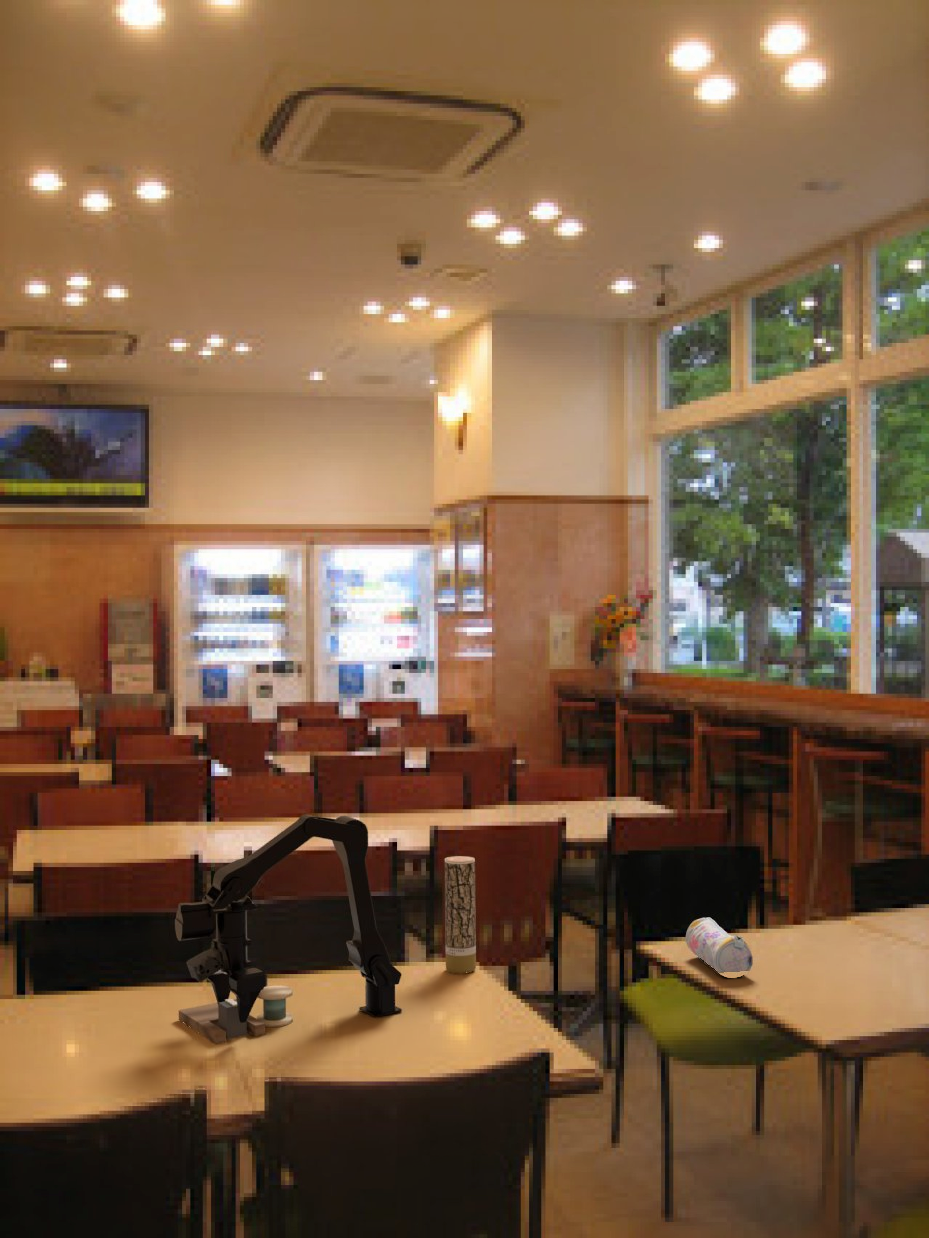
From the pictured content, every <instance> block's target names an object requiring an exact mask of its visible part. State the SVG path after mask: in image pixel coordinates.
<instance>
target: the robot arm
mask: <svg viewBox="0 0 929 1238" xmlns="http://www.w3.org/2000/svg"><path fill="white" fill-rule="evenodd" d="M313 838H320V839H323V840H329V841H331V842H332V844H333V847H334V850H335V851H336V853H337V855H338V858H340V861H341V863H342V867H343V872H344V878H345V884H346V890H347V891H346V892H347V895H348V902H349V907H350V912H351V919H352V924H353V936H352V940H347V941H346V946H347V950H348V954H349V955H348V961H349V962H351V963H352V965H353V967H354V968H355V969H357V970H359V973H360V975H361V977H363V978H364V979H365V987H364V990H365V995H364V996H365V1005H364V1006H359V1007H358V1008H359V1011H361V1012H363V1013H365V1014H367V1015H368V1016H371V1017H374V1018H378V1017H383V1016H384V1017H385V1016H388V1015H393V1014H397V1013H401V1012H403V1009H402V1008H400V1007H399V1006H396V985H399V984H400V982H401V978H402V972H401V971H399V970H398V968H396V967H395V966H394V965H392V963H391V958H390V955H389V952H388V949H387V946H386V945H385V942H384V940H383V938H382V937H381V934H380V933H379V931H378V929H377V927H378V926H377V922H376V916H375V911H374V906H373V900H372V899H373V898H372V894H371V887H370V882H369V875H368V870H367V865H366V859H367V854H368V850H369V830H368V826H367V824H365V823H364V822H363V821H361V820H359V819H356V818H354V817H351V816H348V815H340V816H338V817H336V818H330V817H323V816H314V815H312V814H307V813H306V814H302V815H301V816H300V817H299V818H298V819H297V820H296V821H295V822H293V823H292V824H291V825H289V826H287V827H286V828H284V830H281V832H279V833H278V834H277V835H276V836H274V837H273V838H272V839H269V841H268V842H266V843H264V845H262V846H261V847H259V848H258V849H257V850H255V851H254V852H253V853H251V854H249V855H247V856H246V857H242V858H239V859H237V860H234V861H232V862H230V863H227V864H225V865H223V866H222V867H220V868H219V869H218V870H217V871H216V872H215V873H214V875H213V880H212V884H211V886H210V887H209V889H208V890H207V892H206V894H205V895H204V896H203V898H201V899H202V900H201V901H199V902H197V901H196V902H179V903H178V906H177V907H178V908H177V911H176V913H175V914H176V915H175V919H174V931H175V934H176V938H177V941H179V942H181V941H190V940H197V939H207V938H210V937H211V935H212V934H214V932H215V931H216V938H213V939H212V941H211V943H210V944H211V945H210V948H209V949H207V950H204V951H203V952H200V953H198V954H196V955H195V956H194V957H192V958H190V959H188V960H186V965H187V969H188V971H189V973H190V976H191V978H192V979H195V980H196V981H197V982H203V981H205V980H208V981H209V983H211V986H212V988H213V992H214V996H215V1000H216V1003H219V1002H224V1001H225V1000H226V999H230V995H231V993H232V994H233V995H234V996H235V999H237V1007H238V1014H239V1020H240V1022H241V1023H244V1022H246V1021H247V1018H248V1016H249V1015H251V1012H252V1009H253V1007H254V1005H255V1003H256V1001H257V999H258V995H259V993H260V992H261V990H263V989H264V987H268V975H267V974H266V973H265V972H264V971H263V970H260V969H259V968H256V967H252V960H250V959H248V946H251V945H252V940H251V939H250V938H248V920H247V919H248V917H247V916H248V915H247V914H248V913H247V912H248V911H252V910H254V911H255V910H257V909H258V905H257V904H255V903H254V902H253V900H252V899H251V898H250V897H249V896H248V894H250V892H252V891H253V889H254V888H255V887H256V886H257V884H259V882H260V880H261V879H262V877H263V876H264V875H265V874H266V873H267V872H269V870H271V869H272V868H274V867H275V866H277V864H279V863H280V862H281V861H283V860H284V859H285V858H287V857H288V856H290V855H291V854H292V853H294V852H295V851H296V850H298V849H300V848H301V846H303V845H305V843H307V842H308V841H310V840H311V839H313ZM250 967H251V968H250Z"/></svg>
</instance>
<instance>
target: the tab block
mask: <svg viewBox="0 0 929 1238" xmlns="http://www.w3.org/2000/svg"><path fill="white" fill-rule="evenodd" d="M218 1024H219V1028H221V1029H223V1030H224V1031H226V1040H232V1039H237V1038H241V1037H247V1035H248V1034H247V1033H248V1031H247V1022H244V1023H241V1022H240V1020H239V1014H238V1007H237V999H236V998H235V999H233V998H229V999H226V1000H225V1001H224V1002H219V1003H218Z"/></svg>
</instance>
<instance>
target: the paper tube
mask: <svg viewBox="0 0 929 1238" xmlns="http://www.w3.org/2000/svg"><path fill="white" fill-rule="evenodd" d="M444 915H445V916H444V920H445V921H444V922H445V923H444V927H445V928H444V929H445V931H444V933H445V934H444V935H445V940H444V941H445V969H446V971H447V972H448V973H451V972H453V973H452V974H456V973H465V974H467V973H466V972H470V973H473V972H474V971H475V970H476V969H477V956H476V955H477V949H476V948H477V945H476V943H477V938H476V937H477V934H476V933H477V932H476V931H477V930H476V928H477V927H476V926H477V925H476V922H477V921H476V860H475V857H473V856H467V855H465V856H464V855H463V856H462V855H459V856H458V855H455V856H448V857H445V858H444ZM472 971H473V972H472Z"/></svg>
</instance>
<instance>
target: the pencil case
mask: <svg viewBox="0 0 929 1238" xmlns="http://www.w3.org/2000/svg"><path fill="white" fill-rule="evenodd" d="M685 943H686V946H687V948H688V949H689V950H690V951H691V952H692V954H694V955H695V956H696V955H697V956H698V957H699V958H698V957H697V956H696V957H697V958H698V959H700V958H701V959H702V960H704V961H705V962H707V963H708V964H709V965H710V966H712V967H713V968H714V969H716V970H717V972H719V973H724V972H740V971H749V972H750V971H751V970H752V967H753V961H754V960H753V957H754V956H753V954H752V951H751V948H750V946H749V945H748V943H747V941H746V940H745V939H744V938H743V937H741V936H739V935H738V934H737V933H734V935H731V934H730V933H728V932H727V931H725V930H724V928H722V927H721V926H719V924H718V923H717V922H716V921H715V920H714V919H712V918H711V917H701V918H698V919H695V920H693V921H692V922H691V923H690V924H689V926H688V928H687V930H686V934H685ZM701 959H700V960H701ZM702 960H701V961H702ZM705 962H704V963H705ZM710 966H709V967H710ZM714 969H713V970H714ZM717 972H716V973H717Z"/></svg>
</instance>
